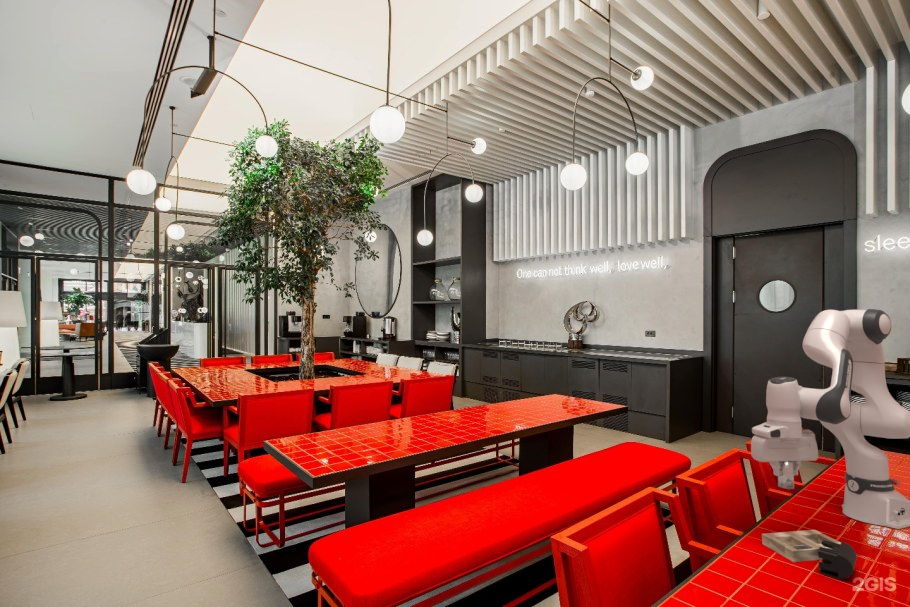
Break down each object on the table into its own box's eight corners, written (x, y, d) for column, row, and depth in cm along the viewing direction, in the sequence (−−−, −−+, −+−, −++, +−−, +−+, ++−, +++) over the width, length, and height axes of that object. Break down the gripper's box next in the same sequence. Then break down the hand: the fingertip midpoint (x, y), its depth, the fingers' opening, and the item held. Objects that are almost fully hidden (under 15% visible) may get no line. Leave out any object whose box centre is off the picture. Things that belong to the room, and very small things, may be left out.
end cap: (853, 584, 119) (852, 557, 119) (818, 574, 124) (817, 548, 124) (857, 570, 126) (856, 544, 126) (824, 560, 131) (823, 536, 131)
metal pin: (786, 484, 145) (785, 458, 145) (797, 488, 141) (796, 462, 141) (775, 485, 144) (774, 458, 145) (785, 489, 140) (784, 462, 141)
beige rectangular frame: (814, 539, 143) (814, 529, 144) (849, 557, 132) (848, 545, 133) (762, 543, 141) (761, 533, 141) (793, 562, 130) (792, 550, 130)
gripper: (805, 427, 148) (807, 471, 147) (746, 428, 146) (748, 473, 145) (823, 431, 142) (825, 477, 141) (762, 432, 139) (764, 479, 138)
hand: (785, 475), depth 143 cm, fingers closed on metal pin, 4 cm apart
